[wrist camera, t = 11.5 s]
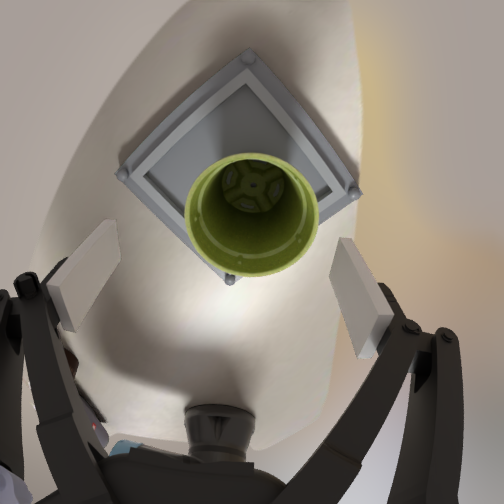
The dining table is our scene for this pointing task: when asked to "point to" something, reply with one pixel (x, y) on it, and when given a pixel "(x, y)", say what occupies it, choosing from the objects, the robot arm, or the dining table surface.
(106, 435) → the bluetooth speaker
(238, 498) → the robot arm
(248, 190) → the plant pot
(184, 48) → the dining table surface
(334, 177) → the base plate
